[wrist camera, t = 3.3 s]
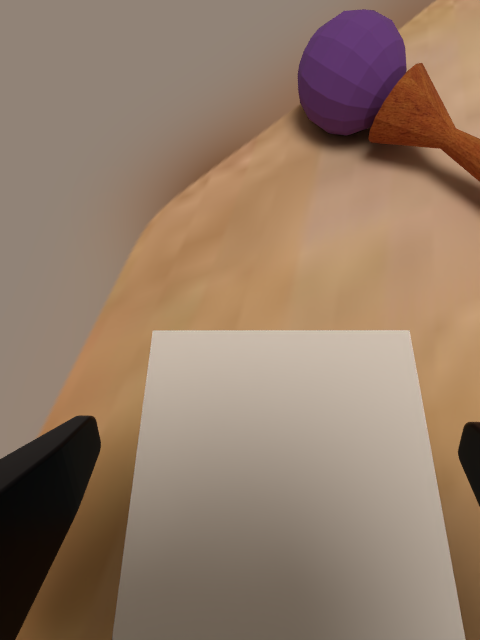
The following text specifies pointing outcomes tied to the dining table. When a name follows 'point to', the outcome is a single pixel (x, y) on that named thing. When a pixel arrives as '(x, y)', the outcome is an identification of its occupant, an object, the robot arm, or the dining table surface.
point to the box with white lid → (285, 493)
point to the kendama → (376, 89)
